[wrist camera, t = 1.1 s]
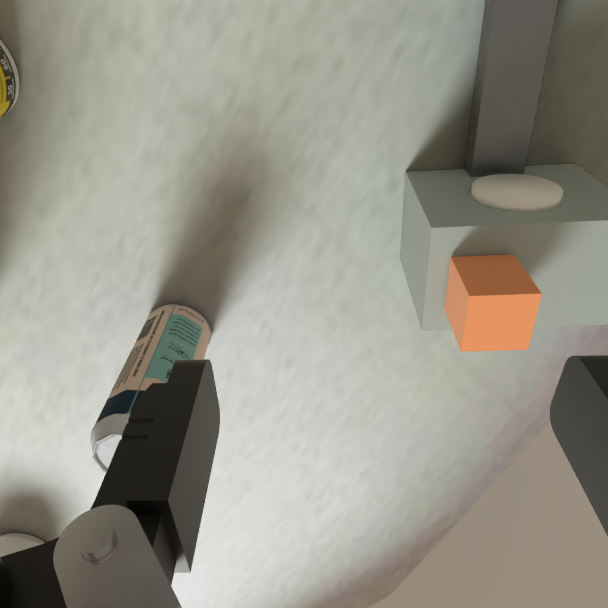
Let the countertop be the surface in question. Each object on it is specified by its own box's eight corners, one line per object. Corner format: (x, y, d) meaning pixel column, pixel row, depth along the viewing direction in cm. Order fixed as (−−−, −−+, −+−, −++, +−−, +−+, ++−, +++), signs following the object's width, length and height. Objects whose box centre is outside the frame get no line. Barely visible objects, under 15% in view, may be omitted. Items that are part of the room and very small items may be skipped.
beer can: (151, 350, 38) (92, 484, 28) (143, 298, 35) (75, 426, 25) (214, 353, 38) (177, 488, 28) (210, 302, 35) (168, 430, 25)
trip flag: (450, 256, 24) (469, 296, 21) (513, 254, 23) (542, 293, 21) (444, 308, 25) (460, 351, 22) (503, 306, 25) (528, 349, 22)
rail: (511, -206, 21) (524, -218, 19) (584, -212, 20) (601, -224, 19) (464, 168, 29) (470, 177, 28) (515, 166, 29) (523, 174, 28)
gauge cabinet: (405, 165, 29) (432, 220, 23) (586, 156, 29) (667, 209, 22) (400, 259, 33) (421, 330, 26) (561, 252, 32) (624, 323, 26)
